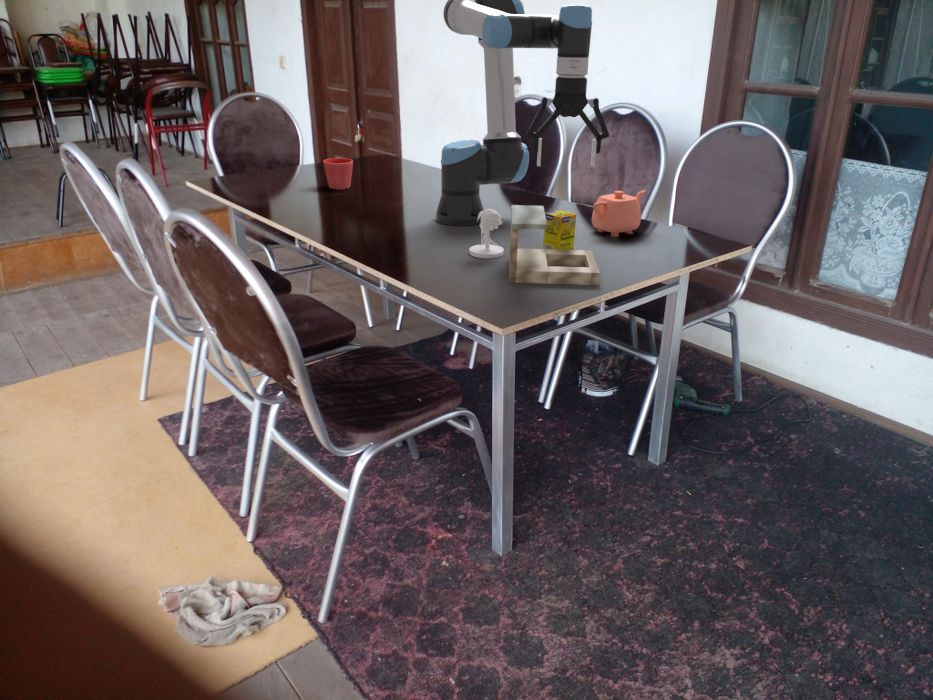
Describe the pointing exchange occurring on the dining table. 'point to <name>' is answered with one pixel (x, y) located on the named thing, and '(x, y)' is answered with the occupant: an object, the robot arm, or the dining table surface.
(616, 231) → the teapot
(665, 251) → the dining table surface
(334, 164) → the flower pot
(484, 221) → the figurine
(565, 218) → the supplement box
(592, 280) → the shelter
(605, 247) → the dining table surface
